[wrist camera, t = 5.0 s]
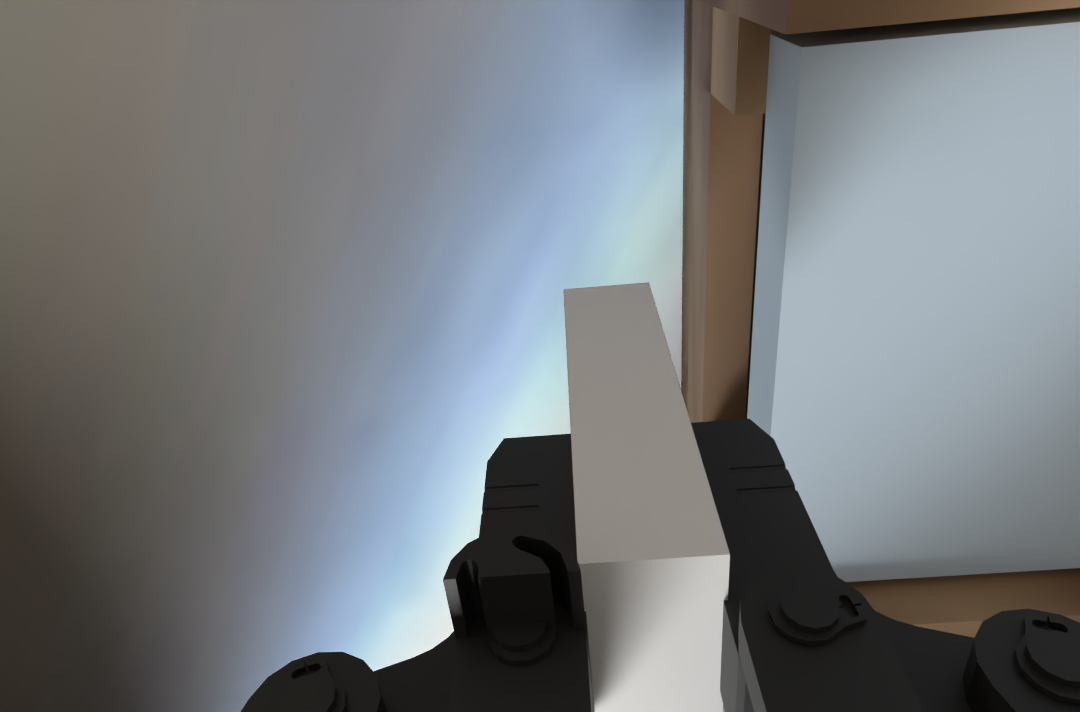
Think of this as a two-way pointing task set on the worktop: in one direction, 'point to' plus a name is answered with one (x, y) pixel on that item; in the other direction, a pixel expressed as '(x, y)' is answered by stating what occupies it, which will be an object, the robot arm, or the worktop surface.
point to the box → (732, 240)
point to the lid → (925, 291)
